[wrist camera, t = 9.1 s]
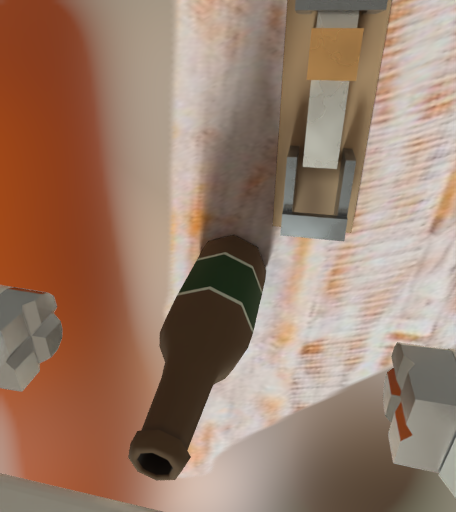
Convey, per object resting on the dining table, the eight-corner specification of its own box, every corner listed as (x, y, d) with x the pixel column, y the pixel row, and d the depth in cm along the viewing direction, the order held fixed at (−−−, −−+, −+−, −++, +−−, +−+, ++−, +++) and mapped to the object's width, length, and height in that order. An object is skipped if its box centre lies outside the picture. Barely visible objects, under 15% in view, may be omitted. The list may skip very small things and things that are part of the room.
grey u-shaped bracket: (352, 148, 34) (357, 163, 30) (341, 222, 38) (343, 244, 34) (290, 145, 35) (286, 159, 31) (284, 217, 38) (280, 238, 34)
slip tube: (367, -36, 28) (375, -48, 24) (339, 160, 35) (341, 175, 31) (318, -35, 29) (318, -46, 25) (300, 158, 35) (297, 172, 31)
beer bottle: (234, 218, 41) (148, 401, 20) (282, 270, 43) (247, 487, 22) (184, 257, 44) (67, 446, 24) (230, 304, 46) (158, 518, 26)
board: (401, -69, 28) (404, -72, 27) (350, 228, 39) (351, 232, 38) (292, -65, 29) (292, -68, 28) (273, 221, 40) (272, 225, 39)
